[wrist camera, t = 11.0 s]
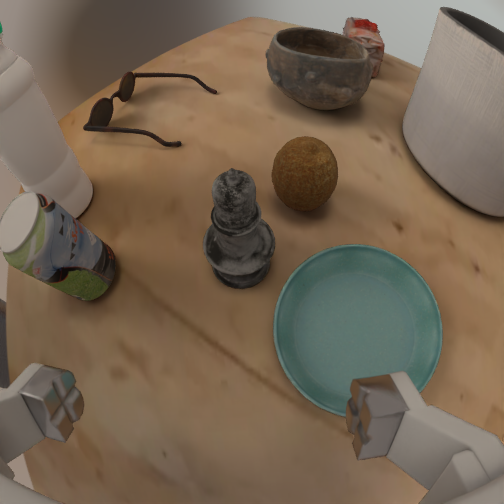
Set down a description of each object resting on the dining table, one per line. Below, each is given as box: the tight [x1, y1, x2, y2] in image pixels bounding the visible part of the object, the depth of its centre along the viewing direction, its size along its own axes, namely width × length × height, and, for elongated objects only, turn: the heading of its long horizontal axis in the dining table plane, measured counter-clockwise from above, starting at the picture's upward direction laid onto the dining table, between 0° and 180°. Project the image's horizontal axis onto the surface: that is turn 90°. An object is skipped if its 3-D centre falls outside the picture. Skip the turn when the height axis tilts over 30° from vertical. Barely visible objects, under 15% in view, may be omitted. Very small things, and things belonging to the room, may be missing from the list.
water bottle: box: [0, 23, 93, 219], centre depth 21 cm, size 7×7×25 cm
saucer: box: [273, 244, 443, 417], centre depth 24 cm, size 15×15×3 cm
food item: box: [343, 18, 384, 78], centre depth 44 cm, size 14×8×10 cm, turn 169°
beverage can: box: [0, 191, 116, 301], centre depth 22 cm, size 6×7×12 cm
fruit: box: [272, 136, 338, 211], centre depth 28 cm, size 6×6×8 cm
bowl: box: [266, 27, 374, 110], centre depth 37 cm, size 14×15×10 cm
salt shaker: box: [203, 168, 275, 289], centre depth 23 cm, size 6×6×12 cm
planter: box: [402, 7, 504, 217], centre depth 27 cm, size 22×22×20 cm
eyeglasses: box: [83, 72, 217, 147], centre depth 38 cm, size 15×15×5 cm
